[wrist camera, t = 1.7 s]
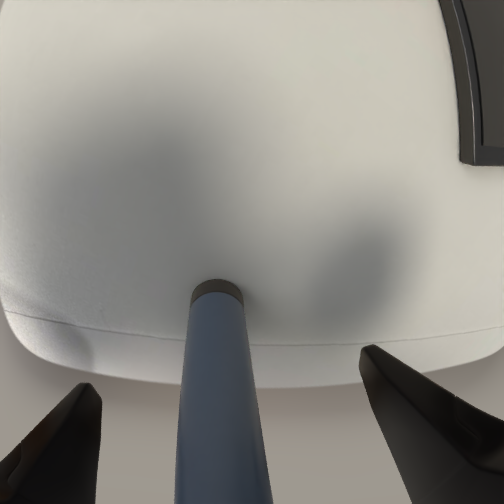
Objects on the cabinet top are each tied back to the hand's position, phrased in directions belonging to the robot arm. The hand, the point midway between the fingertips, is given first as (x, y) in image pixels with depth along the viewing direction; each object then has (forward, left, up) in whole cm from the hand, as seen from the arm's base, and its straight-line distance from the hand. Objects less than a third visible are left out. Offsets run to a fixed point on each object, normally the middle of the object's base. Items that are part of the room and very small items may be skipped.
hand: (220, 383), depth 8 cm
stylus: (0, 0, -4) cm, 5 cm away
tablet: (+1, -29, -4) cm, 29 cm away
